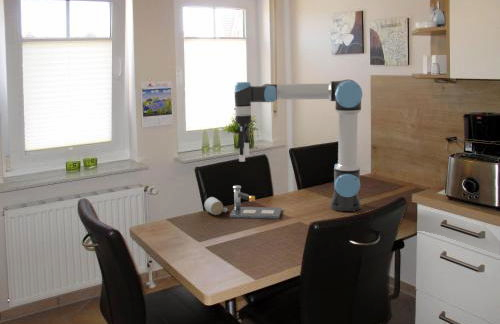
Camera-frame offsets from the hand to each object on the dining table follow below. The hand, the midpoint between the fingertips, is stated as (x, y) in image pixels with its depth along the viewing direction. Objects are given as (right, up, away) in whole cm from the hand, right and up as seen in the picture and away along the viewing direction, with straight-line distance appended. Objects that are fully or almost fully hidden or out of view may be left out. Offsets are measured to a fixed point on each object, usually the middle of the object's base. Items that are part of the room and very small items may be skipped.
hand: (244, 158), depth 252 cm
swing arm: (+1, -20, +3) cm, 20 cm away
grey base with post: (+6, -27, +5) cm, 28 cm away
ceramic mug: (-14, -27, +8) cm, 32 cm away
